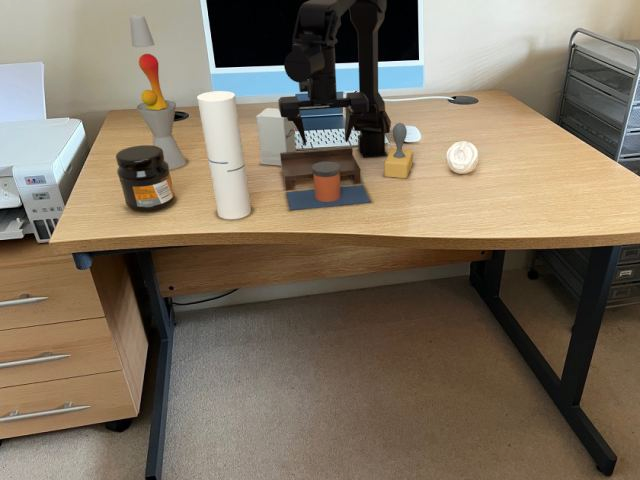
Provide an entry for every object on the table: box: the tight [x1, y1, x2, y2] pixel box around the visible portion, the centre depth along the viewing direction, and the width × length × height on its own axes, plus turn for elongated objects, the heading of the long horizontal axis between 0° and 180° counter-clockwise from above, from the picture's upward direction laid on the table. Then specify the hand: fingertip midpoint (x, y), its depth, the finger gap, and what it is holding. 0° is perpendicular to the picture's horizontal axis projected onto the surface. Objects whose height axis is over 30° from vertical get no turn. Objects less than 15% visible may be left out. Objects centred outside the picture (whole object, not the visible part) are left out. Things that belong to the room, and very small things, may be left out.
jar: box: [312, 162, 341, 202], centre depth 130 cm, size 6×6×7 cm
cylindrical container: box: [196, 90, 252, 220], centre depth 119 cm, size 7×7×25 cm
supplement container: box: [115, 144, 176, 213], centre depth 126 cm, size 10×10×12 cm
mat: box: [286, 184, 371, 211], centre depth 132 cm, size 18×9×1 cm, turn 103°
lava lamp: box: [129, 14, 187, 171], centre depth 139 cm, size 9×9×35 cm
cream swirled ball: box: [445, 140, 480, 175], centre depth 143 cm, size 8×8×8 cm
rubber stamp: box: [383, 122, 414, 179], centre depth 143 cm, size 10×6×12 cm, turn 169°
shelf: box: [280, 146, 362, 191], centre depth 141 cm, size 18×11×5 cm, turn 103°
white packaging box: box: [255, 107, 297, 166], centre depth 148 cm, size 7×7×13 cm
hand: (325, 143), depth 128 cm, fingers open, 9 cm apart
